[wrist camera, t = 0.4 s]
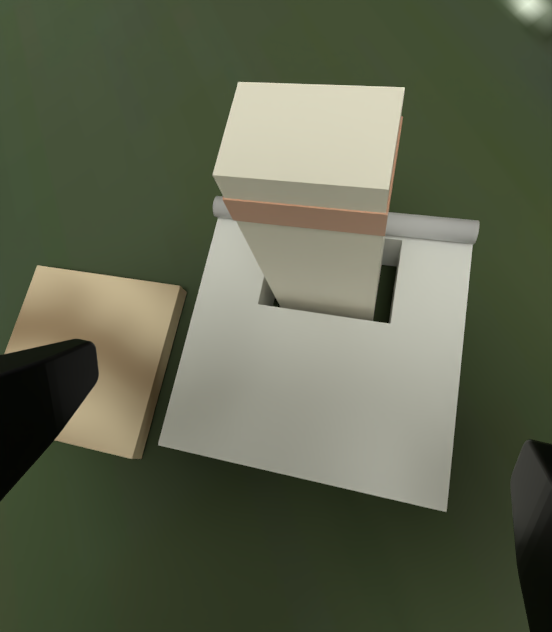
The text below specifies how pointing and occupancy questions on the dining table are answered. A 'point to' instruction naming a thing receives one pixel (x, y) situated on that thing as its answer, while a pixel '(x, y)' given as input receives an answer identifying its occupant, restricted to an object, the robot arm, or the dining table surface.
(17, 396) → the robot arm
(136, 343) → the pad
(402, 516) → the dining table surface
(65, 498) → the dining table surface
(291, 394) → the white slotted base
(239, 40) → the dining table surface
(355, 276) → the rectangular peg
